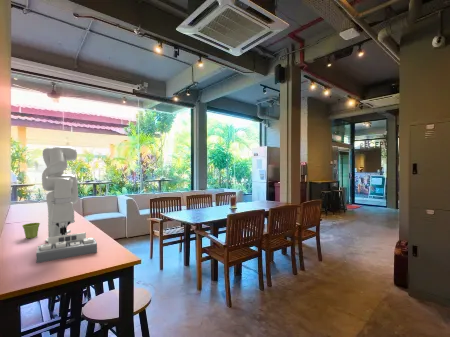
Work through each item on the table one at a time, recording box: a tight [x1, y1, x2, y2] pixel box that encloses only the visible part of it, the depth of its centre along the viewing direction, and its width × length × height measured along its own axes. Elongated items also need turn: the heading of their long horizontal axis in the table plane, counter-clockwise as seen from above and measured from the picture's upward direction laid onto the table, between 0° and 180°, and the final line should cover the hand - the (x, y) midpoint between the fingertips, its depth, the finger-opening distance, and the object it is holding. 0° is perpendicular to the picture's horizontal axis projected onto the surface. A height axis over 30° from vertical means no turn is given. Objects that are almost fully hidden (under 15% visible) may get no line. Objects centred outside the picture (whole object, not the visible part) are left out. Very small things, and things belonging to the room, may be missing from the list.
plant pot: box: [22, 222, 41, 240], centre depth 166 cm, size 9×9×9 cm
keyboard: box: [35, 232, 98, 264], centre depth 136 cm, size 27×12×9 cm, turn 124°
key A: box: [40, 243, 52, 251], centre depth 131 cm, size 5×5×3 cm
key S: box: [56, 241, 66, 248], centre depth 134 cm, size 5×5×3 cm
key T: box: [83, 237, 94, 244], centre depth 141 cm, size 5×5×3 cm
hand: (63, 234), depth 135 cm, fingers closed
